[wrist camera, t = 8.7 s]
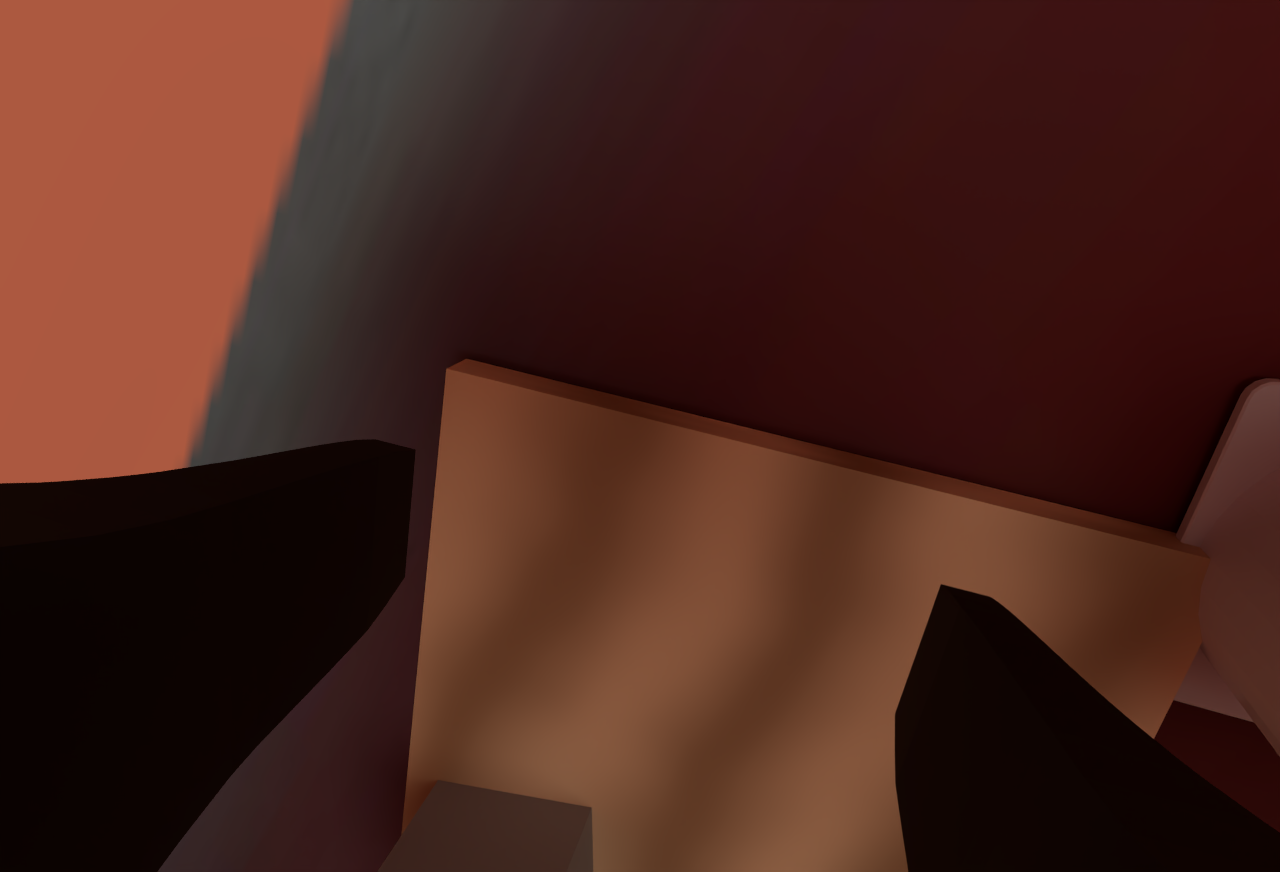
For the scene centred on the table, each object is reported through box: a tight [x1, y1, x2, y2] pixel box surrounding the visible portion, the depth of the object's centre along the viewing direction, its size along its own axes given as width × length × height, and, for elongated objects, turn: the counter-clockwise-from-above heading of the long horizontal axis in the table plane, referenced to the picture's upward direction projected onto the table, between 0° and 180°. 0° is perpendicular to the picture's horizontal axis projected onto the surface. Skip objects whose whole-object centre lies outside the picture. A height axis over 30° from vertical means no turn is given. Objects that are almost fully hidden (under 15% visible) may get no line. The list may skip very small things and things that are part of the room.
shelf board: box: [402, 359, 1211, 872], centre depth 23 cm, size 19×22×4 cm
